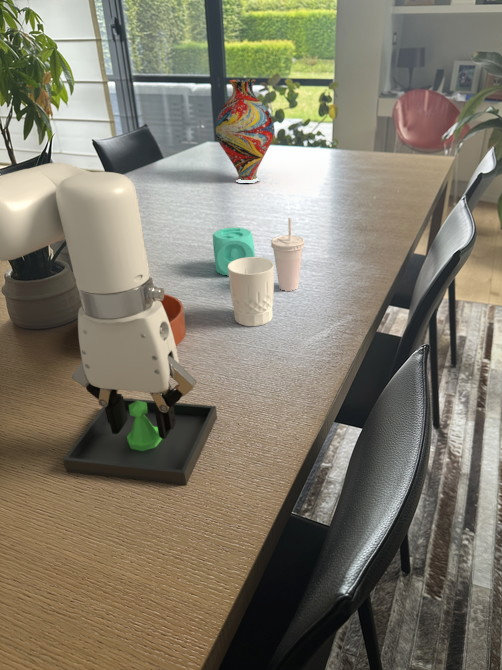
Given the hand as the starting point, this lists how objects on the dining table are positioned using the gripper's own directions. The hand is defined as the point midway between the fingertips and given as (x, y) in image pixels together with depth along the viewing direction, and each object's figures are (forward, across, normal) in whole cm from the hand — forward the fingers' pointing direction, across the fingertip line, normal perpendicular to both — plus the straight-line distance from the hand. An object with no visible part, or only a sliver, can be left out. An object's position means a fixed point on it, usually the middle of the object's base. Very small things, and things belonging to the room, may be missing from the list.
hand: (143, 428), depth 68 cm
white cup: (+3, -6, -36) cm, 37 cm away
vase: (+3, +18, -135) cm, 136 cm away
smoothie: (+3, -10, -50) cm, 51 cm away
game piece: (+2, 0, 0) cm, 2 cm away
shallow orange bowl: (+2, +12, -27) cm, 30 cm away
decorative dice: (+3, +3, -58) cm, 58 cm away
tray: (+2, 0, 0) cm, 2 cm away
